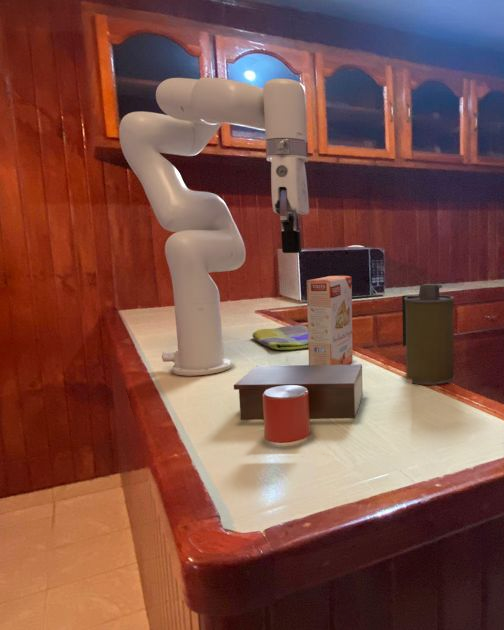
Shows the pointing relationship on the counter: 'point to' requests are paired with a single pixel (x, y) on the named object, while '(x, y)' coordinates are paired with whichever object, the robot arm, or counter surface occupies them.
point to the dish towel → (283, 337)
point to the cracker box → (330, 320)
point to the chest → (320, 402)
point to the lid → (301, 376)
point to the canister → (429, 336)
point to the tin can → (286, 413)
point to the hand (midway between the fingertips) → (291, 252)
